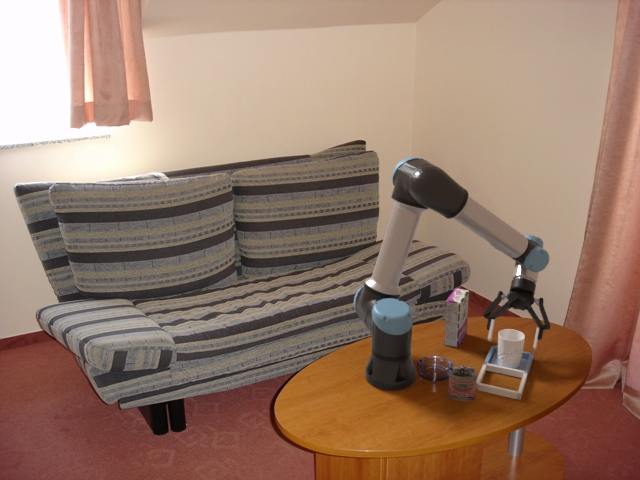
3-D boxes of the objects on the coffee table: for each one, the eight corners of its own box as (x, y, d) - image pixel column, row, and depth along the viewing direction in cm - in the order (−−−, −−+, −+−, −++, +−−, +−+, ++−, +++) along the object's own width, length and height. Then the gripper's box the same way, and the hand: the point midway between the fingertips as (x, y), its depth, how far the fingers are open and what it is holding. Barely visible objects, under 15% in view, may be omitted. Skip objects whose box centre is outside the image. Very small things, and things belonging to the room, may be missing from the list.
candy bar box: (452, 331, 222) (455, 287, 216) (466, 334, 220) (470, 290, 214) (442, 345, 213) (445, 300, 207) (457, 348, 210) (461, 303, 205)
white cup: (493, 357, 205) (495, 328, 201) (518, 357, 204) (521, 328, 201) (498, 370, 197) (501, 341, 194) (524, 370, 197) (528, 341, 193)
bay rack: (474, 389, 188) (474, 383, 187) (491, 350, 209) (491, 345, 208) (520, 400, 182) (521, 393, 182) (532, 358, 204) (533, 353, 203)
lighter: (447, 399, 183) (449, 368, 180) (446, 393, 186) (448, 362, 183) (476, 401, 182) (478, 370, 179) (475, 395, 185) (477, 364, 182)
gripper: (565, 292, 204) (554, 356, 196) (485, 280, 214) (472, 340, 207) (565, 283, 198) (553, 349, 190) (483, 271, 208) (469, 332, 200)
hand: (511, 344), depth 198 cm, fingers open, 13 cm apart
